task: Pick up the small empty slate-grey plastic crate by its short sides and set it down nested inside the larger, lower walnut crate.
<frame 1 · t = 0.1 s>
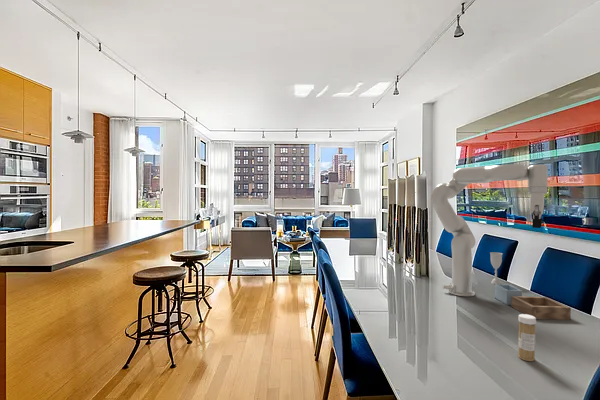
hand: (537, 227, 162), 37 cm above the table, tool pointing down, fingers open, 9 cm apart
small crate: (507, 301, 169), on the table
pill bottle: (526, 359, 108), on the table
walnut crate: (539, 312, 152), on the table
chalice: (495, 283, 206), on the table
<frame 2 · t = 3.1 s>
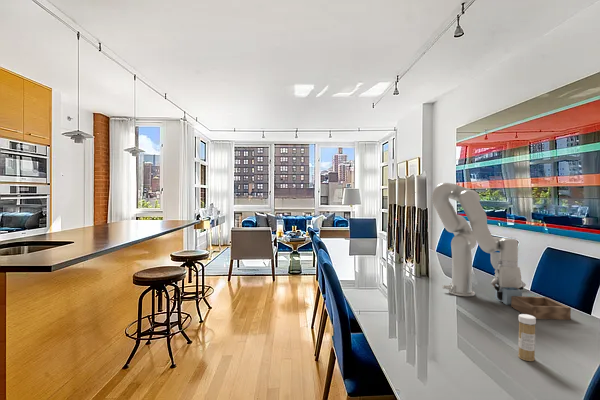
hand: (508, 299, 169), 1 cm above the table, tool pointing down, fingers closed on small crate, 7 cm apart
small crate: (508, 301, 169), on the table, touching gripper
everything else where it was.
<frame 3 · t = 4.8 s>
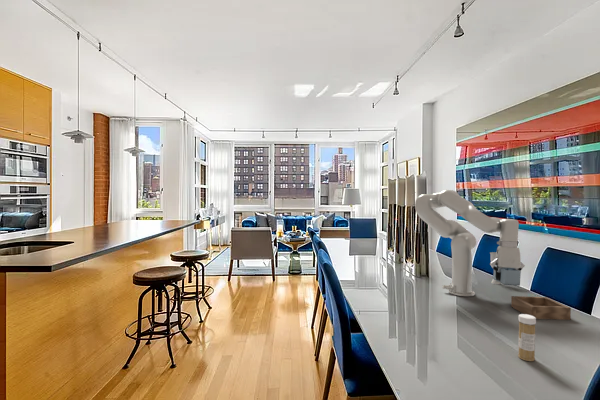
hand: (506, 280, 169), 10 cm above the table, tool pointing down, fingers closed on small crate, 7 cm apart
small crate: (506, 282, 169), point 9 cm above the table, touching gripper
everything else where it was.
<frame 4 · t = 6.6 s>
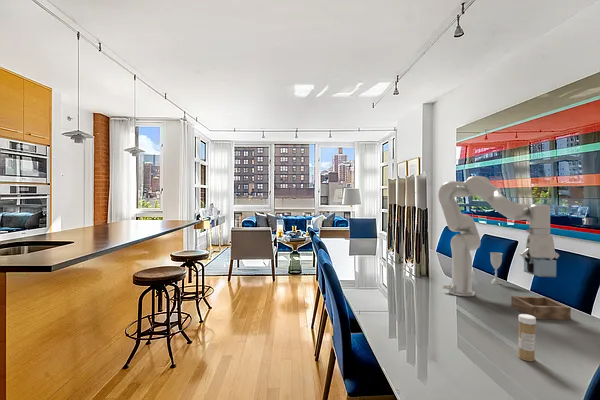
hand: (539, 272, 153), 18 cm above the table, tool pointing down, fingers closed on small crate, 7 cm apart
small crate: (539, 274, 153), point 17 cm above the table, touching gripper
everything else where it was.
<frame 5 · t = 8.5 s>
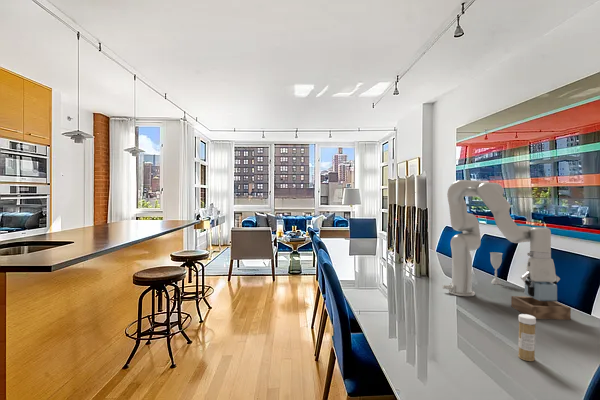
hand: (540, 295, 152), 8 cm above the table, tool pointing down, fingers closed on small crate, 7 cm apart
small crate: (540, 297, 152), point 7 cm above the table, touching gripper
everything else where it was.
when the fingers open (3 cm above the table, at t = 10.0 s): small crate drops 1 cm, resting on walnut crate.
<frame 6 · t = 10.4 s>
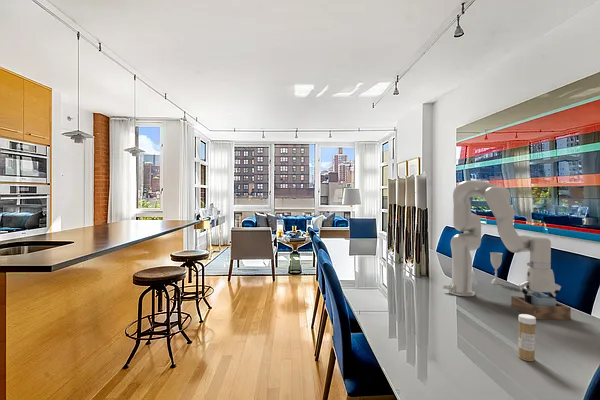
hand: (539, 304, 152), 4 cm above the table, tool pointing down, fingers open, 9 cm apart
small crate: (539, 311, 152), point 1 cm above the table, touching walnut crate
everything else where it was.
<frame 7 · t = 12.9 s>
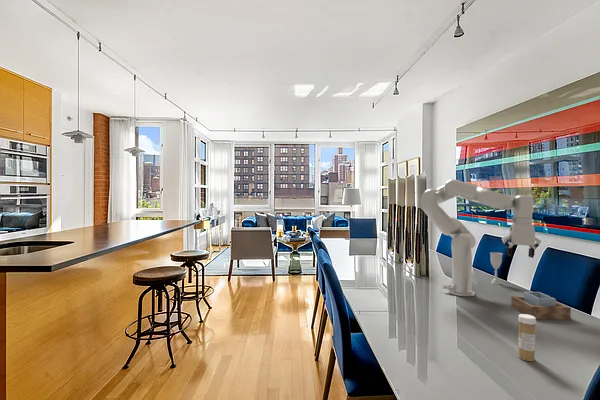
hand: (520, 256, 166), 23 cm above the table, tool pointing down, fingers open, 9 cm apart
nothing on the table moved.
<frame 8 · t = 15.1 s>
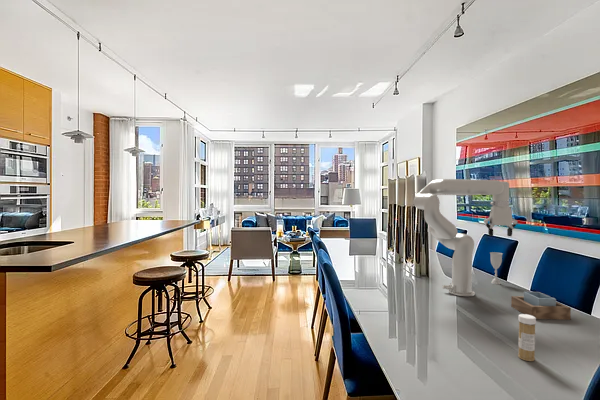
hand: (500, 236, 186), 30 cm above the table, tool pointing down, fingers open, 9 cm apart
nothing on the table moved.
at the end: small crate inside the target area on the walnut crate (0.1 cm from its centre), point 0.8 cm above the walnut crate's base; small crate tilted 0°; the gripper is holding nothing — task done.
